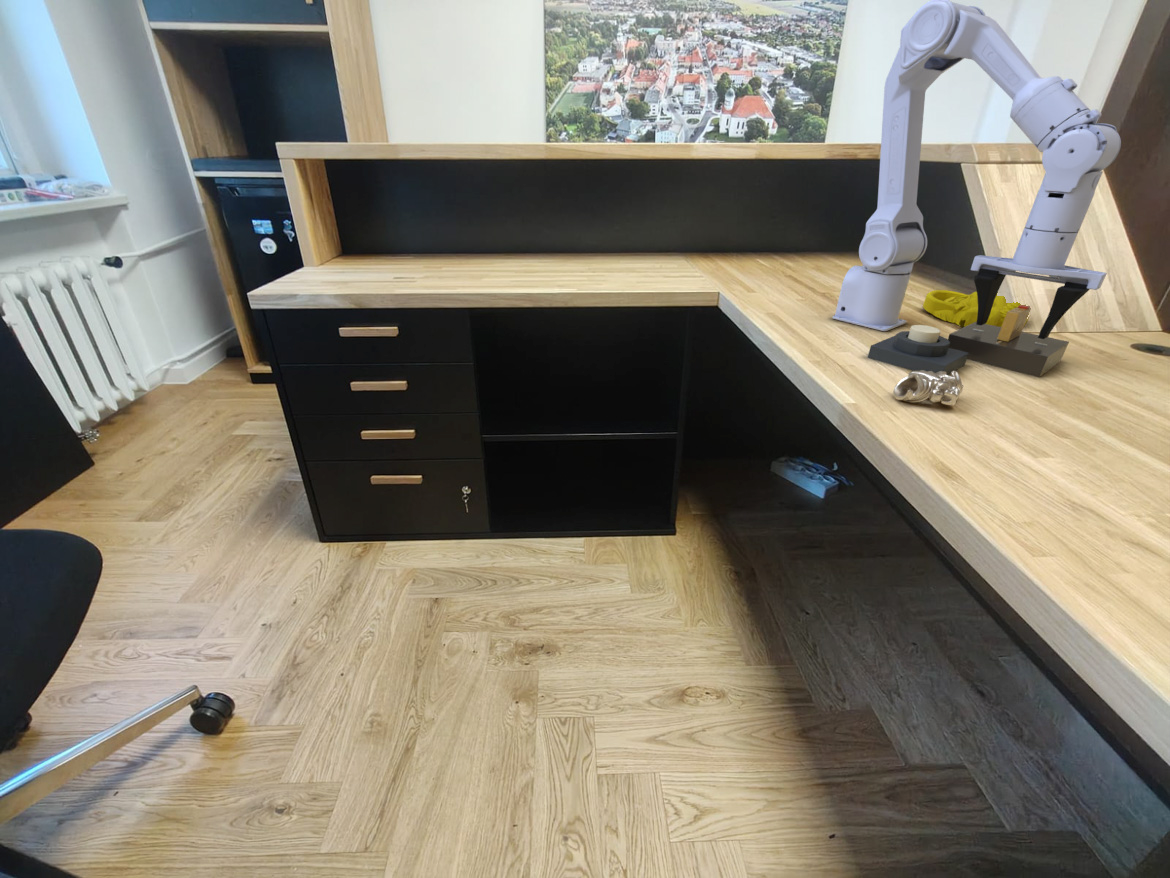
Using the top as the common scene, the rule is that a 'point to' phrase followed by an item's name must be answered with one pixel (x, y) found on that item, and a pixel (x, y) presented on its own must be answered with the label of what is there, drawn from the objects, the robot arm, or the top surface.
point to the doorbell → (918, 354)
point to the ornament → (929, 387)
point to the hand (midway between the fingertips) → (1010, 330)
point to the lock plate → (1008, 349)
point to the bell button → (924, 334)
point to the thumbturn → (1014, 323)
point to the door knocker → (965, 307)
